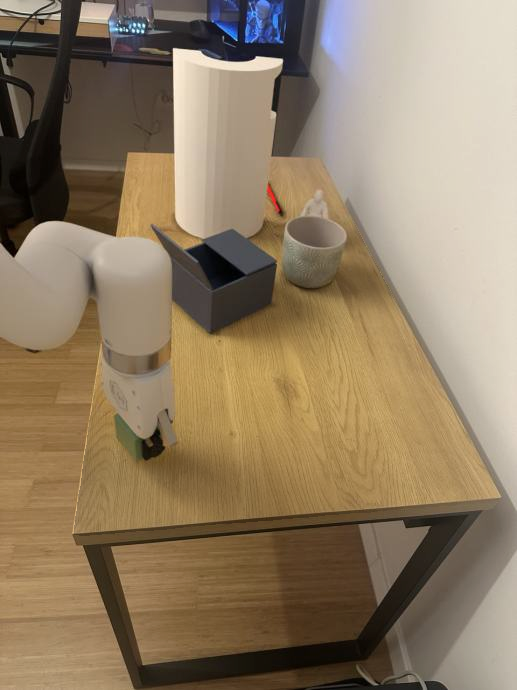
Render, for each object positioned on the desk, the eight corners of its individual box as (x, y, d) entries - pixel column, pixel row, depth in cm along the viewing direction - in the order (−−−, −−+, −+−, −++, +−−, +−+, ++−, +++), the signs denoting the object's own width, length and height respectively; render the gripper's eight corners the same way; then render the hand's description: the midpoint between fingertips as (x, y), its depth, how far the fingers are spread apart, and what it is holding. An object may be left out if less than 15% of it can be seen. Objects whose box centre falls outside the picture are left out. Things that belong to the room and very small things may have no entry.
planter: (343, 293, 103) (355, 248, 95) (284, 295, 100) (293, 249, 93) (326, 258, 112) (337, 215, 104) (272, 259, 109) (279, 214, 102)
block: (136, 463, 66) (134, 440, 62) (116, 437, 68) (113, 414, 65) (168, 444, 69) (168, 421, 65) (148, 420, 71) (147, 397, 68)
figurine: (326, 237, 118) (337, 190, 110) (323, 255, 112) (334, 207, 104) (295, 231, 119) (303, 184, 110) (290, 249, 113) (299, 200, 105)
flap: (212, 288, 83) (211, 290, 83) (168, 251, 89) (166, 253, 89) (198, 261, 77) (196, 262, 77) (151, 223, 83) (150, 225, 83)
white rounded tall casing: (175, 212, 119) (262, 218, 122) (172, 238, 111) (266, 243, 113) (173, 47, 95) (282, 57, 97) (169, 64, 87) (288, 75, 89)
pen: (279, 216, 123) (280, 212, 122) (262, 180, 136) (262, 176, 135) (283, 216, 123) (283, 212, 123) (265, 180, 136) (265, 176, 136)
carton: (210, 334, 90) (212, 289, 83) (168, 296, 96) (167, 251, 89) (271, 304, 98) (277, 260, 91) (229, 271, 104) (232, 228, 97)
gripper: (69, 314, 58) (86, 412, 70) (150, 408, 50) (153, 500, 62) (126, 292, 62) (133, 388, 74) (210, 376, 54) (202, 469, 66)
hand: (142, 438), depth 68 cm, fingers closed on block, 5 cm apart
